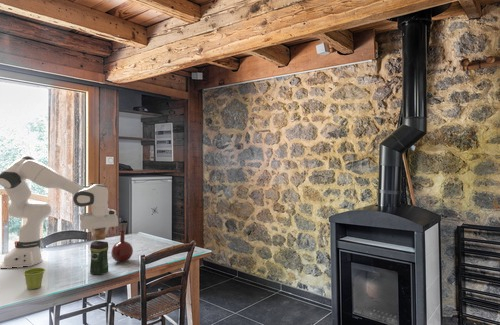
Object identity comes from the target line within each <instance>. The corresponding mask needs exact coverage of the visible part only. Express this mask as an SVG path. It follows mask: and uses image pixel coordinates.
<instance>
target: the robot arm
mask: <svg viewBox="0 0 500 325" xmlns="http://www.w3.org/2000/svg"><path fill="white" fill-rule="evenodd" d="M26 180H29V181H31V182H32V183H33V184H36V185H37V186H40V187H42V188H46V189H60V190H64V191H66V192H68V193H70V194H71V195H73V197H72V198H73V199H72V201H73V203H74V205H76V206H77V207H81V208H85V207H87V206H91V211H90V212H83V213H81V214H80V215H79V220H80V229H81V230H89V231H90V233H91V237H94V236H95V233H94V228H105V236H107V235H108V232H109V230H110V228H113V227H118V226H119V218H118V215H117V210H116V209H112V208H109V204H108V201H109V190H108V186H106V185H105V184H101V183H94V184H93V185H91V186H89V187H86V186H82V185H80V184H78V183H76V182H74V181H72V180H71V179H68V178H66V177H65V176H64V175H62V174H60V173H59V172H57V171H56V170H54V169H52V168H51V167H50V166H47V165H45V164H44V163H42V162H38V161H37V160H36V159H35V158H34V157H32V156H29V155H23V156H21V157H18V159H17V160H15V161H14V162H12V163H11V164H10V165H9V166H8V167H7V168H5V170H3V171H1V173H0V185H1V186H2V188H3V189H4V190H5V192H6V195H8V198H9V199H10V202H11V203H10V204H9V205H8V208H7V213H8V215H9V216H10V217H13V218H15V219H26V223H25V224H24V225H22V226H21V227H20V228H19V229H18V240H15V241H14V248H12V249H11V250H10V251H8V252H7V253H6V254H5V255H4V258H3V261H2V262H0V269H1V268H7V269H13V268H12V267H17V268H24V267H23V266H28V267H32V266H34V265H37V264H40V263H42V262H43V261H44V259H43V257H42V253H41V252H42V251H41V248H42V240H41V228H42V224H43V223H44V221H45V219H47V218H48V217H49V216H50V215H51V212H52V206H51V205H50V204H49V202H44V201H41V200H40V201H37V200H35V201H34V200H29V199H30V198H31V195H32V190H31V188H30V187H29V185H28V183H27V181H26Z"/></svg>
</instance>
